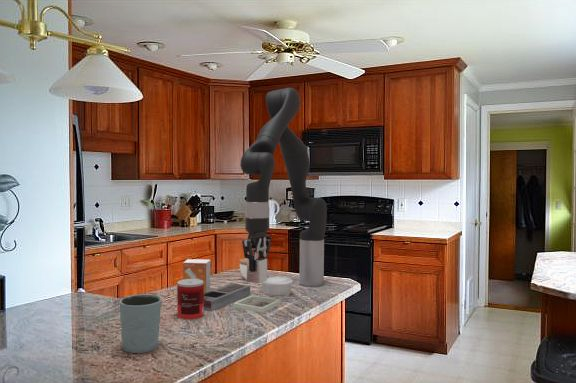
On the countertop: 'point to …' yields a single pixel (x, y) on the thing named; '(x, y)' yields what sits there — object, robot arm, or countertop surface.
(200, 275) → the small box
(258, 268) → the cube with dark knob
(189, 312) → the canned food
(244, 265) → the lidded jar
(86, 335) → the countertop surface
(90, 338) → the countertop surface
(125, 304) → the grey-green cup
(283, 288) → the ramekin
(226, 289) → the grey compartment tray
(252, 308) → the parts tray
